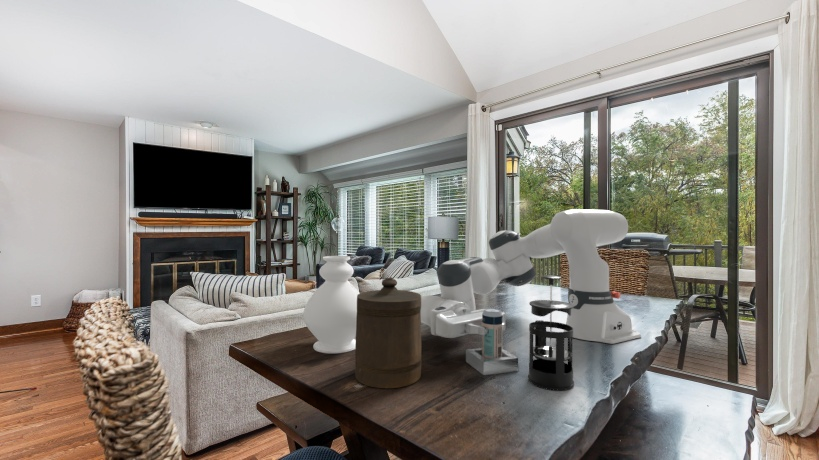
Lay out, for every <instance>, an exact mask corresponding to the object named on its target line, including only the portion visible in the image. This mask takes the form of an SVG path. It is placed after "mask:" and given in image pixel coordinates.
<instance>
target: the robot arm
mask: <svg viewBox="0 0 819 460" xmlns="http://www.w3.org/2000/svg"><path fill="white" fill-rule="evenodd" d="M628 231H629V222H628V220H627V218H626V216H624V215H623V214H621V213H619V212H616V211H612V210H608V209H590V208H589V209H587V208H586V209H582V208H580V209H579V208H578V209H577V208H572V209H567V210H562V211H558V212H557V213H555V214H554V216H553V217H552V219H551V222H550V223H548V224H546V225H543V226H541V227H538V228H537V229H535V230H533V231H531V232H530V233H529V234H527V235H525V236H523V237H522V236H521V233H520V232H515V231H514V230H510V229H506V230H499V231H498V232H496V233H494V234H493V235H492V236H491V238H489V241H488V246H489V249H490V250H491V251H492V254H493V256H494V258H492V257H487V258H482V257H479V256H478V257H477V256H472V257H471V256H470V257H465V258H464V257H463V258H461V259H452V260H451V259H450V260H447V261H445V262H442V263H441V264H440V265H439V267H438V268H437V270H436V276H437V279H438V283H439V288H440V289H439V290H440V296H437V295H430V294H420V295H421V324H424V325H426V326H429V327H430V334H431V335H433V336H438V337H442V338H447V339H454V338H459V337H464V336H467V335H480V336H482V335H487V334H488V328H487V327H485V326H482V313H483V312H484V310H485V309H486V308H482V309H481V308H480V309H476V308H477V307H476V300H475V294H477V295H487V294H490V293H492V291H494V290H495V289H496V288H497V286H498V285H499V284H500V282H501V281H503V283H504V284H509V285H510V286H513V287H522V286H526V285H528V284H530V283H531V282H532V281H533V280H534V279H535V278H536V276H537V273H536V272H537V271H536V269H535V266H534V265H533V264H532V262H531V259H530V258H532V259H545V258H551V257H554V256H558V255H561V254H565V256H566V258H567V263H568V273H569V287H568V288H567V289H568V290H567V300H568V302H567V303H570V304H572V305H573V306H574V307H573V309H571V316H569V315H568V314H567V313H566V314H567V316H566V320H565V324H567V325H569V326H571V327H573V336H572V338H573V339H574V338H575V339H578V340H582V341H590V342H591V341H592V342H598V343H599V342H600V343H604V344H605V343H606V344H610V345H611V344H612V345H613V344H618V343H622V342H626V341H631V340H634V339H639V338H641V337H642V334H641V332H638V331H637V330H635V329H633V324H632V322H633V321H632V319H631V316H630V315H629V314H628V313H627V312H626V311H624V310H623V309H622V308H621V307H620V306H618V305H617V304H616V303H614V298H615V299H618V300H619V299H620V298H621V296H622V295H621V294H620V292H619V291H614V290H613V291H611V290H610V266H609V264H608V262H607V261H605V260H604V259H602V258H601V256H600V254H599V252H598V248H597V247H602V246H607V245H611V244H615V243H619V242H621V241H622V240H624V239H625V238H626V237H627V236H628V235H627V234H628V233H629V232H628ZM501 312H502V314H503V318H502V332H503V331H506V329H507V328H506V327H507V326H506V324H507V323H506V321H507V320H506V319H507V317H506V313H505V312H503V311H501ZM563 332H567V331H566V330H563Z"/></svg>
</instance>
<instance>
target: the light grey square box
mask: <svg viewBox="0 0 819 460" xmlns="http://www.w3.org/2000/svg"><path fill="white" fill-rule="evenodd" d="M465 363H467V364H468V365H470V366H471V367H472V368H474V369H475V370H476V371H478V372H479V374H481V375H483V376H488V375H496V374H503V373H513V372H519V358H518V356H516V355H514V354H513V353H510V352H509V351H507V350H505V349H504V348H502V358H493V359H485V358H484V357H482V347H477V348H475V347H474V348H468V349H467V348H466V349H465Z"/></svg>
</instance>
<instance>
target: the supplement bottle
mask: <svg viewBox="0 0 819 460" xmlns="http://www.w3.org/2000/svg"><path fill="white" fill-rule="evenodd" d="M484 309H485V310H484V312H483V313H482V326H485V327H487V328H488V334H487V335H481V348H482V357H484V358H485V359H493V358H502V349H503V331H502V318H503V314H502V312H503V311H502V310H501V309H499V308H492V307H491V308H490V307H489V308H484Z"/></svg>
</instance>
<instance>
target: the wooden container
mask: <svg viewBox="0 0 819 460" xmlns="http://www.w3.org/2000/svg"><path fill="white" fill-rule="evenodd" d="M397 284H398V281H397V280H396V279H394V277H385V278H383V280H382V281H381V285H382V288H381V289H377V290H368V291H364V292H359V293H360V294H358V295H357V317H356V337H355V339H356V346H355V349H354V350H355V354H354V355H355V357H354V359H355V364H354V365H355V366H354V367H355V375H354V376H355V379H356V380H357V381H358V382H359V383H360V384H362V385H365V386H367V387H371V388H375V389H376V388H377V389H398V388H399V389H400V388H403V387H407V386H410V385H413V384H415V383H416V382H418V381H419V380H420V378H421V376H422V325H421V324H422V322H421V295H422V294H421V293H418V292H415V291H410V290H403V289H401V290H400V289H397V287H396V286H397Z"/></svg>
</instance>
